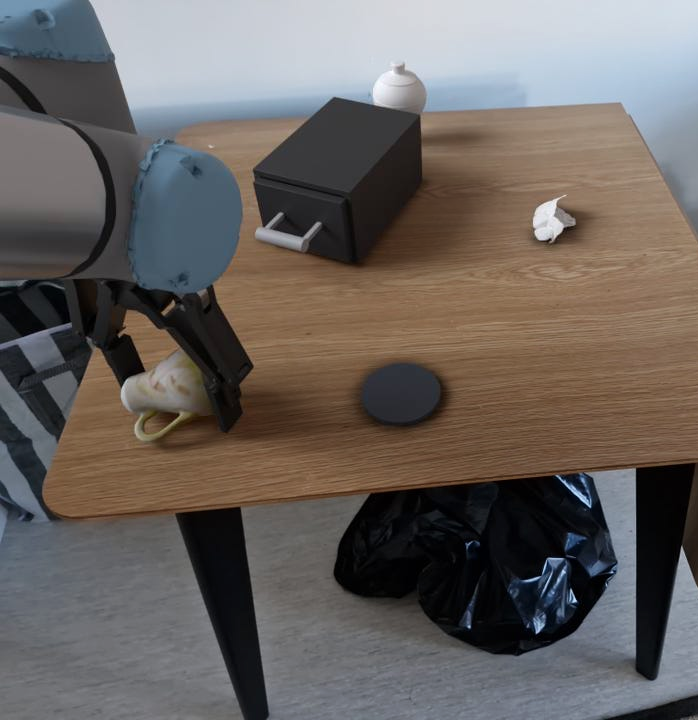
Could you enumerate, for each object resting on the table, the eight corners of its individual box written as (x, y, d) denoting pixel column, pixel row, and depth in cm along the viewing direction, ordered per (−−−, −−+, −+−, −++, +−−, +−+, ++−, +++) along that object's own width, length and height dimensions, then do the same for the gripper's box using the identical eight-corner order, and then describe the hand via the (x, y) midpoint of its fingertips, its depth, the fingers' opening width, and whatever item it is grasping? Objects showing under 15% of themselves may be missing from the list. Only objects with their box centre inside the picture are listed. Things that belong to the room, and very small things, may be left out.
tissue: (518, 233, 93) (520, 208, 90) (548, 204, 98) (550, 179, 95) (556, 248, 91) (560, 223, 88) (585, 218, 96) (588, 193, 93)
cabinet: (358, 263, 88) (349, 192, 81) (268, 240, 91) (252, 168, 83) (423, 182, 101) (420, 114, 94) (342, 163, 104) (333, 96, 96)
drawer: (328, 287, 83) (318, 228, 77) (243, 264, 86) (227, 204, 80) (412, 184, 99) (409, 128, 93) (337, 166, 101) (330, 111, 95)
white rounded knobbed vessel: (437, 138, 109) (436, 59, 101) (407, 160, 105) (403, 79, 96) (396, 124, 112) (392, 46, 103) (366, 144, 107) (358, 65, 99)
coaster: (421, 435, 70) (421, 431, 69) (347, 412, 72) (346, 408, 71) (452, 379, 75) (452, 375, 75) (382, 358, 77) (382, 354, 76)
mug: (127, 387, 72) (155, 306, 68) (223, 420, 75) (255, 344, 71) (100, 432, 66) (129, 345, 62) (206, 465, 69) (241, 385, 65)
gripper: (265, 219, 54) (307, 412, 70) (26, 158, 60) (115, 350, 75) (206, 277, 49) (264, 470, 65) (-50, 204, 54) (62, 400, 70)
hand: (184, 406), depth 70 cm, fingers closed on mug, 10 cm apart
